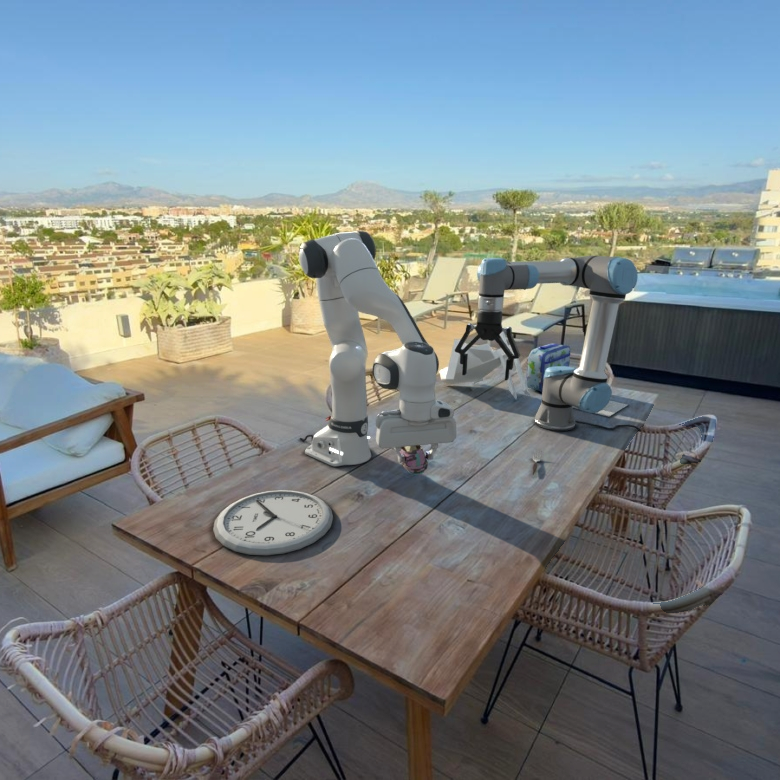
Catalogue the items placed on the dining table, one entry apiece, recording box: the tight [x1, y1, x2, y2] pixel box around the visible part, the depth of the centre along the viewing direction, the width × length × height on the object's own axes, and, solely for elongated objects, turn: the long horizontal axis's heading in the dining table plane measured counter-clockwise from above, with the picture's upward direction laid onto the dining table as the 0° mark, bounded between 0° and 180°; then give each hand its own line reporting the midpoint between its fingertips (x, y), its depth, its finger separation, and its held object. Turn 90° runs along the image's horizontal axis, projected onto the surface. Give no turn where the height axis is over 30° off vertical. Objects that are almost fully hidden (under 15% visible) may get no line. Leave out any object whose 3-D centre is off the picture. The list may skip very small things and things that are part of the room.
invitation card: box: [573, 400, 629, 418], centre depth 226 cm, size 21×1×15 cm
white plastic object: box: [438, 326, 531, 400], centre depth 245 cm, size 37×45×31 cm
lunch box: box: [525, 343, 571, 393], centre depth 249 cm, size 26×11×21 cm, turn 134°
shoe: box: [391, 445, 429, 475], centre depth 140 cm, size 8×24×9 cm, turn 13°
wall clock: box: [212, 489, 334, 556], centre depth 134 cm, size 30×2×30 cm
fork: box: [532, 451, 543, 475], centre depth 168 cm, size 3×16×2 cm, turn 160°
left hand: (415, 460), depth 132 cm, fingers closed on shoe, 6 cm apart
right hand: (485, 376), depth 167 cm, fingers open, 13 cm apart
